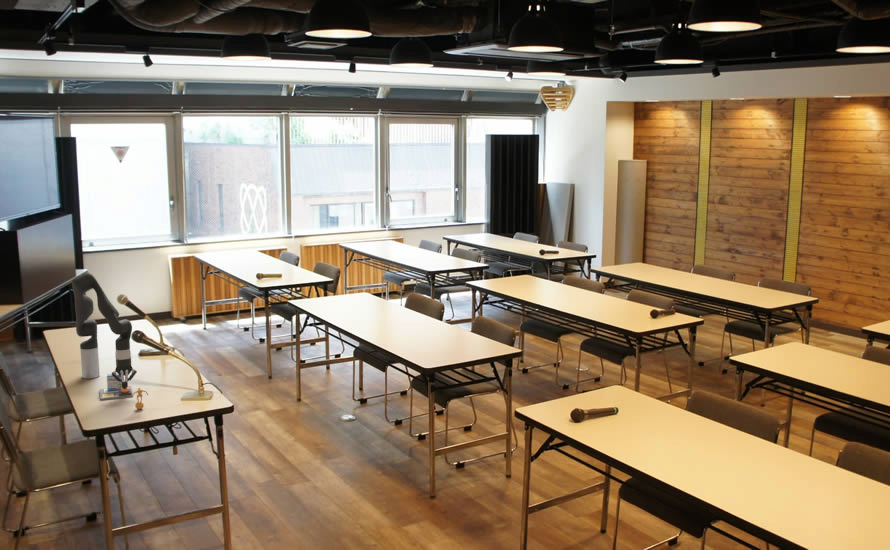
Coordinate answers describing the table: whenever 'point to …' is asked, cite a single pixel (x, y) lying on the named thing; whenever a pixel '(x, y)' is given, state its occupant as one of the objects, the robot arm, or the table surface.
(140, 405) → the figurine
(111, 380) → the medicine box
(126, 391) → the button
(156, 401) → the table surface
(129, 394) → the activity board
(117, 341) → the robot arm
